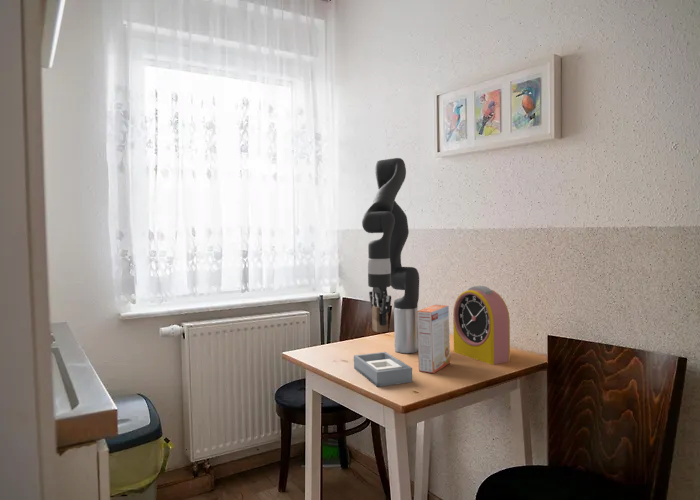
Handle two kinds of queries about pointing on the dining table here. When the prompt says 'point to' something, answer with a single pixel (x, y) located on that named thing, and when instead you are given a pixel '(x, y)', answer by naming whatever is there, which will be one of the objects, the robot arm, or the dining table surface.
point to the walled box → (382, 369)
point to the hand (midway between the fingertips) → (380, 323)
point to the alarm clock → (482, 326)
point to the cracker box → (433, 338)
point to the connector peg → (376, 322)
